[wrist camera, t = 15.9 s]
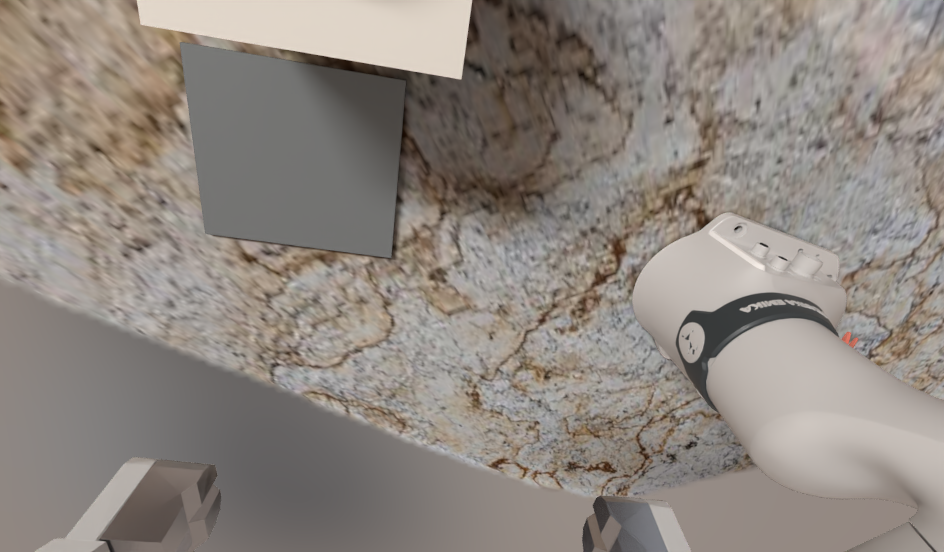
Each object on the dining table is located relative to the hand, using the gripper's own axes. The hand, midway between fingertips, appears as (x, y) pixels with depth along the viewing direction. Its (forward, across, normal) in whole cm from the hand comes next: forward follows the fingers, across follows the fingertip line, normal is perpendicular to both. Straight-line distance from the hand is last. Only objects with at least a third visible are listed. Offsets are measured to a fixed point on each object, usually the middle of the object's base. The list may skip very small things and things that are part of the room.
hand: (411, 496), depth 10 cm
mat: (+37, -14, -4) cm, 40 cm away
